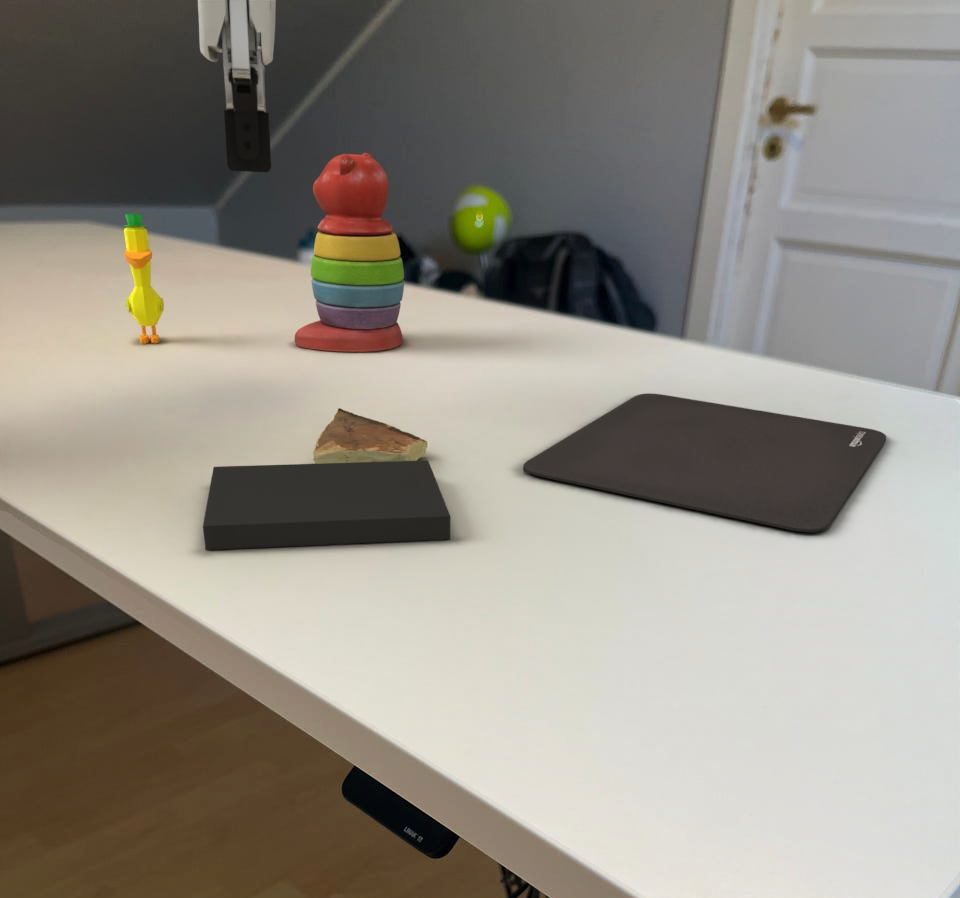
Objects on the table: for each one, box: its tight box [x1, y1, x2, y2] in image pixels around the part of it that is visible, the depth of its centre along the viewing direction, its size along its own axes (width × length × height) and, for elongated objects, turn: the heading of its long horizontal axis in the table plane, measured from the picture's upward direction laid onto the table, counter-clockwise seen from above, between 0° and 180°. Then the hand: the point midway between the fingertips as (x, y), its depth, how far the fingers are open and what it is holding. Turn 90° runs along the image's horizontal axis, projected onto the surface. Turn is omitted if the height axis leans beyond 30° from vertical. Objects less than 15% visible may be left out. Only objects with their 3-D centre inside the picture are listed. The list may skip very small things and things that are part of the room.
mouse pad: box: [522, 392, 887, 533], centre depth 73 cm, size 25×21×1 cm
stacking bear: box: [294, 152, 405, 353], centre depth 98 cm, size 11×10×18 cm
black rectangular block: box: [202, 459, 451, 551], centre depth 60 cm, size 14×10×2 cm
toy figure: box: [123, 213, 165, 345], centre depth 96 cm, size 7×4×12 cm, turn 14°
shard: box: [313, 407, 428, 464], centre depth 71 cm, size 11×8×2 cm
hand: (249, 170), depth 74 cm, fingers closed
